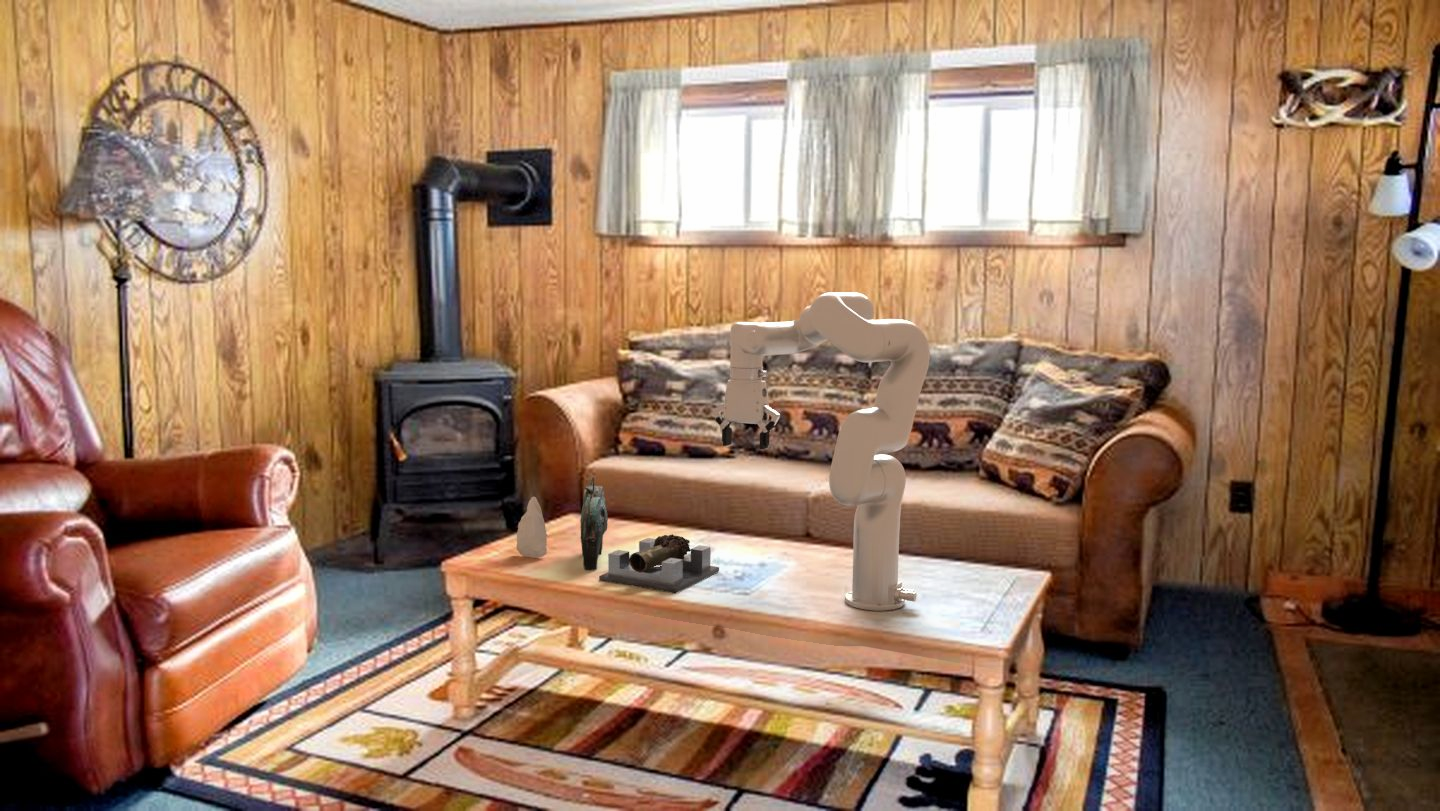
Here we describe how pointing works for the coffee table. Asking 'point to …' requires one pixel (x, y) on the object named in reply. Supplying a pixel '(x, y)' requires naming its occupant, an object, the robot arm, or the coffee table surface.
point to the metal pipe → (660, 552)
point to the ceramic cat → (593, 524)
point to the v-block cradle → (660, 569)
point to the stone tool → (532, 532)
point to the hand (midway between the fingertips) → (745, 446)
